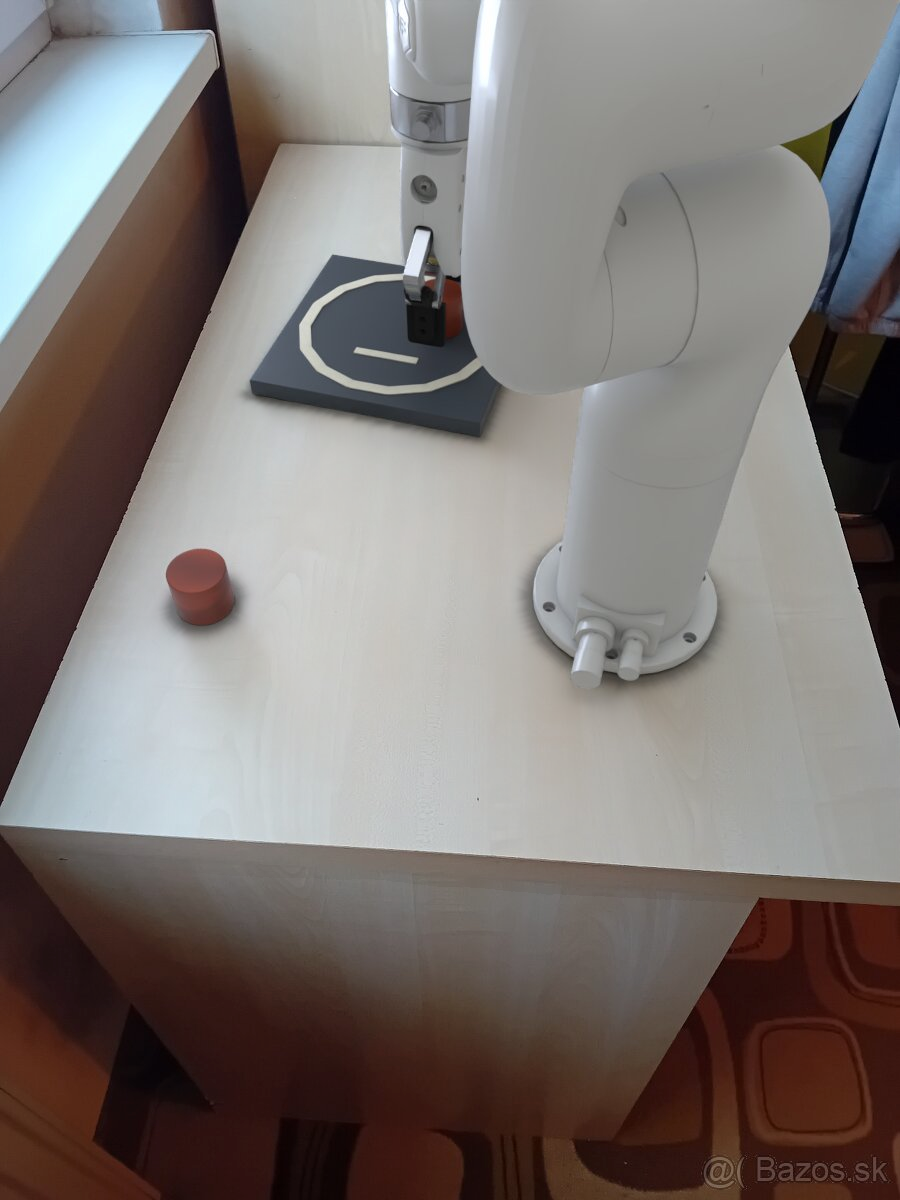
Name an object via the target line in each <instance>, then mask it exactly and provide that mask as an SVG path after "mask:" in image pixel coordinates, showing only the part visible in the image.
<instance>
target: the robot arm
mask: <svg viewBox="0 0 900 1200" xmlns="http://www.w3.org/2000/svg"><path fill="white" fill-rule="evenodd" d="M899 5H900V0H384V6H385V8H384V9H385V26H386V27H385V28H386V29H385V30H386V41H387V42H386V47H387V66H388V67H387V68H388V90H389V91H388V92H389V111H390V129H391V133H392V135H393V136H394V138H396V139H397V140H399V141H400V142H401V143H400V164H399V165H400V168H399V236H400V237H399V239H400V251H401V261H402V264H403V266H405V271H404V275H403V284H404V287H405V288H404V295H405V303H406V310H407V333H408V340H409V341H410V342H412V343H418V344H424V345H430V346H436V347H443V346H444V345H445V343H446V303H445V302H442V296H443V290H444V284H445V279H449V280H452V281H455V282H461V290H462V300H463V309H464V316H465V321H466V325H467V330H468V333H469V337H470V340H471V343H472V345H473V348H474V350H475V352H476V355H477V357H478V358H479V360H480V362H481V364H482V365H483V366H484V368H485V369H486V370H487V372H488V373H489V374H490V375H491V376H492V377H493V378H494V379H495V380H496V381H498V382H499V383H500V384H501V385H502V386H503V387H505V388H507V389H509V390H511V391H514V392H517V393H519V394H524V395H530V396H548V395H556V394H560V393H566V392H571V391H574V390H578V389H582V388H584V389H583V393H582V398H581V401H580V407H579V415H578V423H577V428H576V429H577V431H576V437H575V444H574V453H573V460H572V468H571V473H570V474H571V475H570V482H569V488H568V489H569V490H568V497H567V499H568V500H567V505H566V512H565V520H564V529H563V533H562V540H561V541H560V542H558V543H557V544H555V545H553V547H551V549H550V550H549V551H548V552H547V553H546V555H544V557H543V558H542V559H541V561H540V564H539V565H538V567H537V569H536V573H535V576H534V579H533V589H532V600H533V608H534V611H535V615H536V618H537V621H538V623H539V624H540V626H541V628H542V629H543V631H544V632H545V634H546V636H547V637H549V639H550V640H551V642H553V643H554V644H555V645H556V646H557V647H558V648H559V649H561V650H562V651H563V652H565V653H566V654H567V655H568V656H570V657H572V658H573V663H572V666H571V670H570V675H569V680H570V682H571V683H572V684H573V685H575V686H576V687H577V688H581V689H584V690H594V689H597V688H599V686H600V685H601V681H602V678H603V673H604V672H609V673H616V674H617V676H618V677H619V678H620V679H621V680H624V681H629V682H630V681H636V680H638V679H639V677H640V675H645V674H655V673H659V672H662V671H666V670H669V669H672V668H675V667H677V666H679V665H680V664H682V663H685V662H687V661H688V660H690V659H691V658H692V657H693V656H695V654H696V653H698V652H699V651H700V650H701V649H702V647H703V646H704V645H705V643H706V642H707V641H708V640H709V638H710V635H711V633H712V631H713V628H714V625H715V621H716V618H717V615H718V595H717V591H716V587H715V584H714V582H713V580H712V578H711V576H710V574H709V572H708V571H707V568H708V566H709V561H710V559H711V556H712V552H713V549H714V546H715V543H716V540H717V536H718V534H719V530H720V527H721V523H722V521H723V517H724V514H725V511H726V508H727V504H728V502H729V498H730V495H731V491H732V489H733V486H734V482H735V479H736V476H737V473H738V470H739V467H740V463H741V460H742V457H743V456H744V453H745V450H746V448H747V444H748V441H749V438H750V435H751V432H752V429H753V426H754V423H755V420H756V417H757V414H758V412H759V409H760V405H761V403H762V401H763V398H764V396H765V393H766V390H767V388H768V386H769V384H770V381H771V379H772V377H773V375H774V373H775V371H776V369H777V367H778V365H779V363H780V361H781V360H782V358H783V356H784V355H785V353H786V351H787V350H788V347H790V344H791V343H792V340H793V339H794V338H795V336H796V334H797V332H798V330H799V329H800V328H801V325H802V324H803V322H804V320H805V318H806V317H807V314H808V313H809V311H810V309H811V306H812V305H813V303H814V300H815V298H816V295H817V294H818V291H819V289H820V286H821V284H822V281H823V278H824V275H825V271H826V267H827V263H828V259H829V254H830V245H831V218H830V210H829V204H828V201H827V197H826V194H825V192H824V189H823V186H822V184H821V182H820V180H819V178H818V176H817V175H816V174H815V172H814V171H813V170H812V169H811V167H810V166H809V165H808V163H807V162H805V161H804V160H803V159H802V158H801V157H800V156H799V155H798V154H796V153H795V152H793V151H791V150H790V149H788V148H786V147H784V146H783V145H782V144H786V143H787V144H788V143H789V142H793V141H795V140H798V139H802V138H805V137H807V136H809V135H811V134H814V133H815V132H817V131H819V130H822V129H823V128H825V127H826V126H828V125H829V124H831V123H832V122H834V121H835V120H836V119H838V118H839V117H840V116H841V115H842V114H843V113H844V112H845V111H846V110H847V108H848V107H850V105H851V104H852V102H853V101H854V99H855V98H856V96H857V95H858V93H859V92H860V90H861V89H862V87H863V86H864V83H865V81H866V80H867V77H868V76H869V74H870V72H871V70H872V68H873V66H874V63H875V61H876V59H877V57H878V54H879V52H880V51H881V48H882V46H883V43H884V41H885V39H886V36H887V34H888V31H889V29H890V26H891V24H892V22H893V20H894V17H895V15H896V12H897V10H898V7H899ZM429 258H436V259H437V261H438V263H439V265H436V264H429V262H428V259H429ZM425 274H430V275H436V279H435V285H434V291H432V290H431V288H430V287H429V286H425V285H424V284H425V279H424V275H425Z"/></svg>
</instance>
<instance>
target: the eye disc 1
mask: <svg viewBox="0 0 900 1200" xmlns="http://www.w3.org/2000/svg"><path fill="white" fill-rule="evenodd" d="M230 578H231V577H230V574H229V571H228V568H227V563H226V561H225V559H224V557H223V556H222V555H221V554H219V553H218V552H217V551H216V550H212V549H209V548H193V549H188V550H186V551H183V552H181V553H179V554H178V555H176V556H175V557H173V558H172V560H171V561H170V562H169V564H168V565H167V567H166V570H165V579H166V582H167V585H168V588H169V591H170V594H171V597H172V600H173V602H174V605H175V608H176V611H177V614H178V615H179V616H180V618H181V619H182V620H183V621H185V622H187V623H189V624H192V625H195V626H207V625H212V624H216V623H218V622H219V621H221V620H223V619H224V618H226V617H227V616H228V615H229V614H230V613H231V611H232V610H233V608H234V605H235V601H236V600H235V593H234V590H233V585H232V583H231V582H232V581H231V579H230Z"/></svg>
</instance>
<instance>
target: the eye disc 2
mask: <svg viewBox="0 0 900 1200" xmlns="http://www.w3.org/2000/svg"><path fill="white" fill-rule="evenodd" d="M424 285H425V286H429V287H430V288H431V290H432V291H434V285H435V279H431V280H428V281H425V284H424ZM442 302H445V303H446V339H448V338H451V337H454V336H456V335H457V334H458V333H460V331H461V330H462V327H463V300H462V290H461V286H460V285H459V284H458V283H456V282H455V281H452V280H449V279H445V284H444V290H443V296H442Z"/></svg>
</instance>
